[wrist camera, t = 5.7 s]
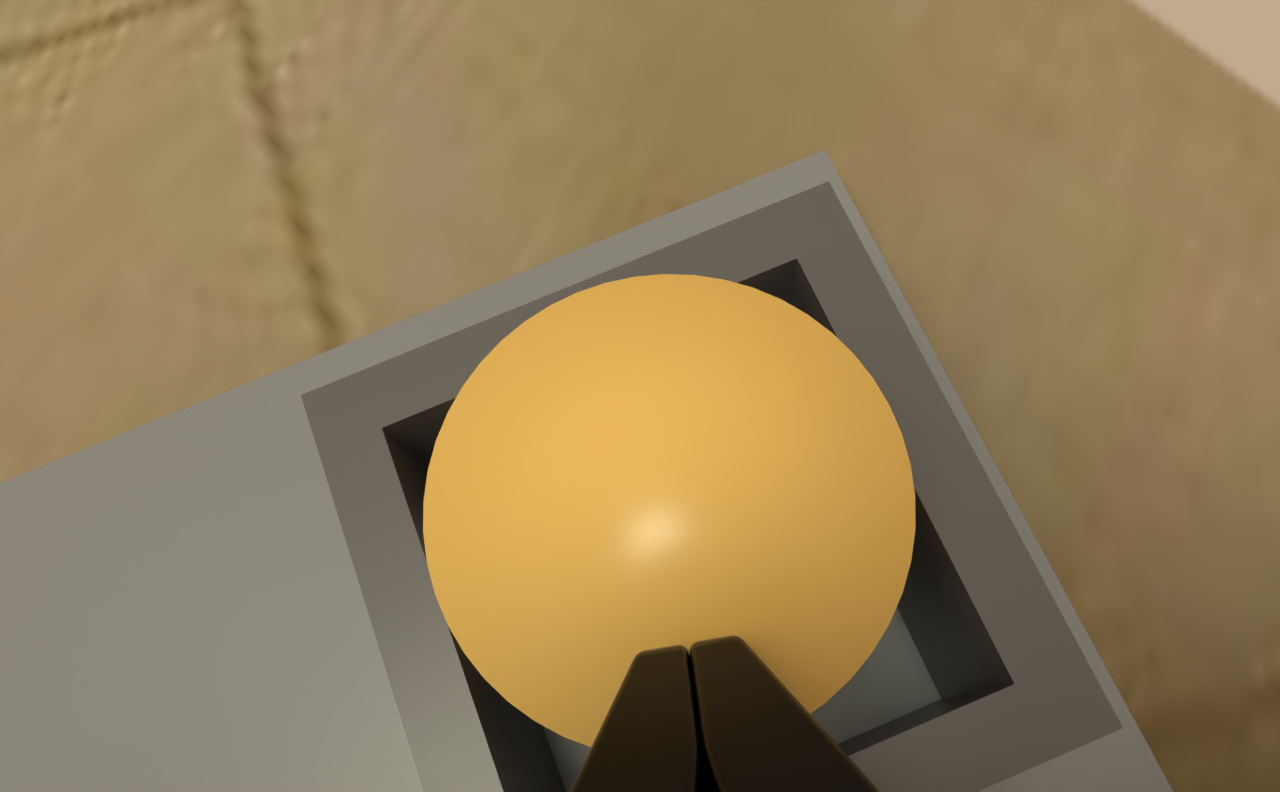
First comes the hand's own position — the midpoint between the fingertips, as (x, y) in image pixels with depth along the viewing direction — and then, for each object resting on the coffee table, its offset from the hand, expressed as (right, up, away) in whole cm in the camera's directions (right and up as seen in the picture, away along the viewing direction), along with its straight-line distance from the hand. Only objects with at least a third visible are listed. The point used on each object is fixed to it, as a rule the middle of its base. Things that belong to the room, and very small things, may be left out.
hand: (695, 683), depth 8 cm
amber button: (0, 0, +5) cm, 5 cm away
